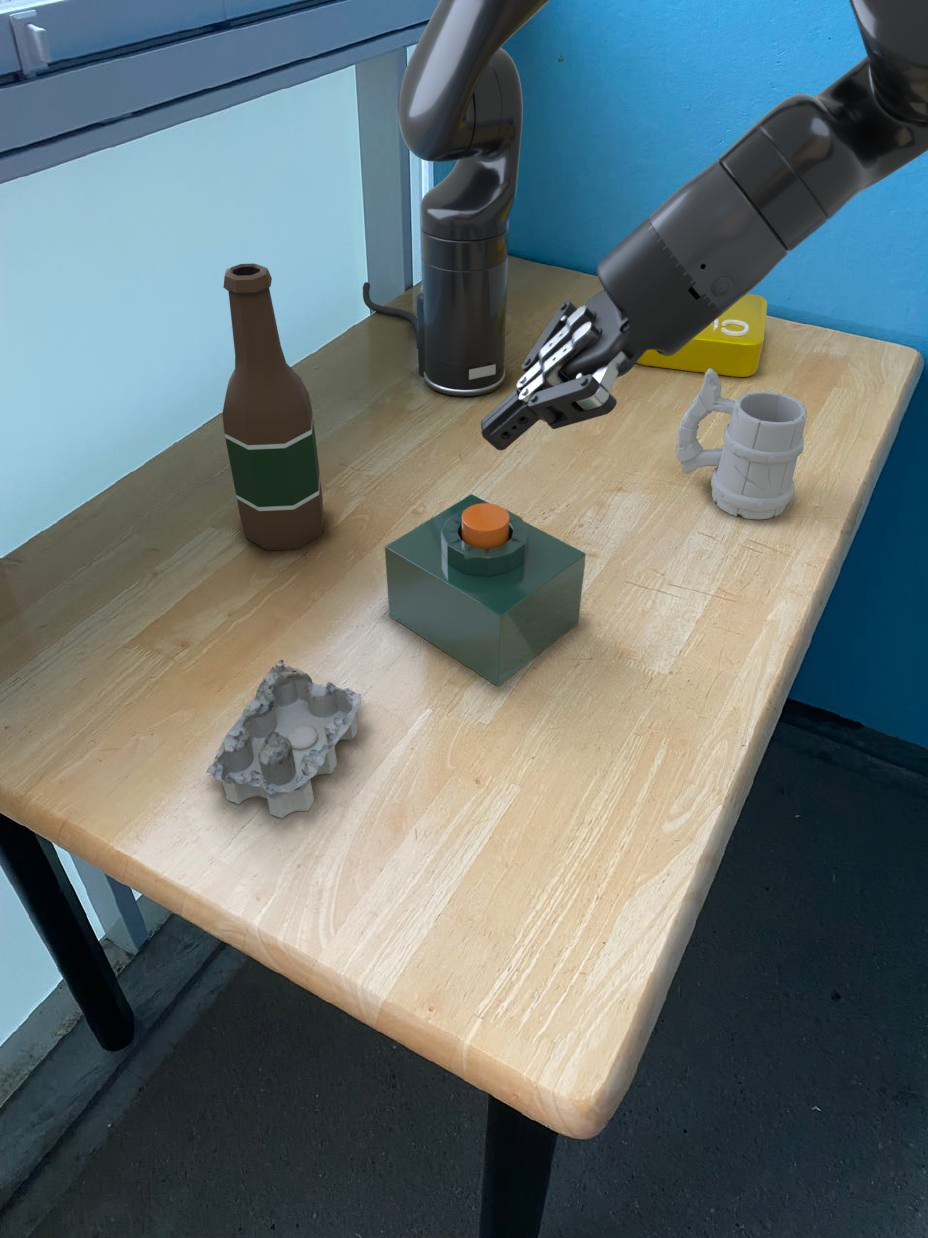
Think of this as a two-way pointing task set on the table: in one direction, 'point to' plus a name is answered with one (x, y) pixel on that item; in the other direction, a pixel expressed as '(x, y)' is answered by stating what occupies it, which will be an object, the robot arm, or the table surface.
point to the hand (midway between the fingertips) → (489, 438)
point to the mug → (746, 448)
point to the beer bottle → (268, 424)
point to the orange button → (485, 525)
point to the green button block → (484, 591)
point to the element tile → (722, 343)
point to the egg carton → (285, 740)
